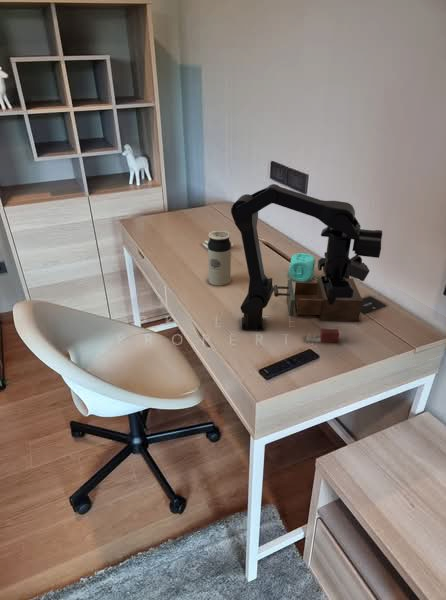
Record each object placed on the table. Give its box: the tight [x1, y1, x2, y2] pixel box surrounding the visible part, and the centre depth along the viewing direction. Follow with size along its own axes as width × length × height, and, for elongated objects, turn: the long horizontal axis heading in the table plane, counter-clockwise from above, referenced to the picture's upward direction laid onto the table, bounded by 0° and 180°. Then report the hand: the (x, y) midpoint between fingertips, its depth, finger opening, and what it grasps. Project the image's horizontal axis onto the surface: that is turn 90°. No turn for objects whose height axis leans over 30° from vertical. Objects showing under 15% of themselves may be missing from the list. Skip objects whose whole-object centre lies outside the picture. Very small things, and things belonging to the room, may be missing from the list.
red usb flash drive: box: [305, 328, 340, 344], centre depth 123 cm, size 9×2×3 cm, turn 87°
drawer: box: [273, 279, 323, 317], centre depth 137 cm, size 15×13×6 cm
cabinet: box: [316, 277, 363, 323], centre depth 137 cm, size 12×15×8 cm
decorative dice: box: [288, 252, 316, 282], centre depth 156 cm, size 8×8×8 cm
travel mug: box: [207, 230, 232, 287], centre depth 151 cm, size 8×8×18 cm
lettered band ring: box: [202, 240, 235, 249], centre depth 179 cm, size 18×10×6 cm, turn 27°
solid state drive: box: [360, 295, 387, 315], centre depth 141 cm, size 7×10×1 cm
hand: (330, 304), depth 119 cm, fingers closed
